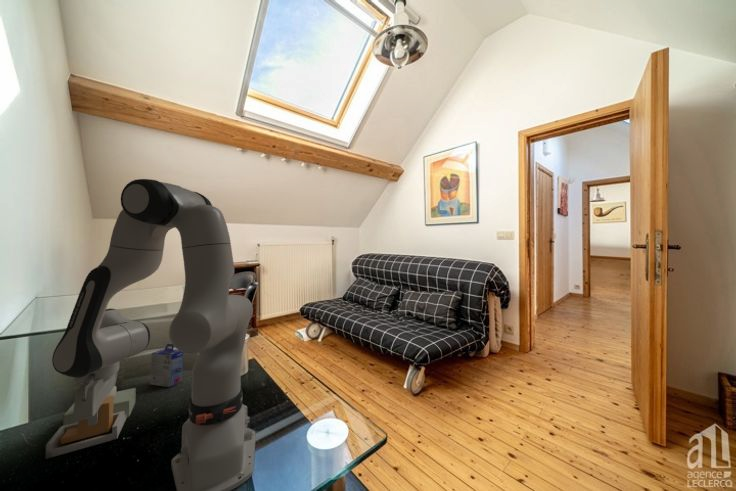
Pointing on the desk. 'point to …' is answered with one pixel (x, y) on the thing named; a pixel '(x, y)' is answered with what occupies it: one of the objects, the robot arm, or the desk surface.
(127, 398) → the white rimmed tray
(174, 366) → the ink cartridge box
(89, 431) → the orange upright block
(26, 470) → the desk surface
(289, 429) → the desk surface
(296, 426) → the desk surface
